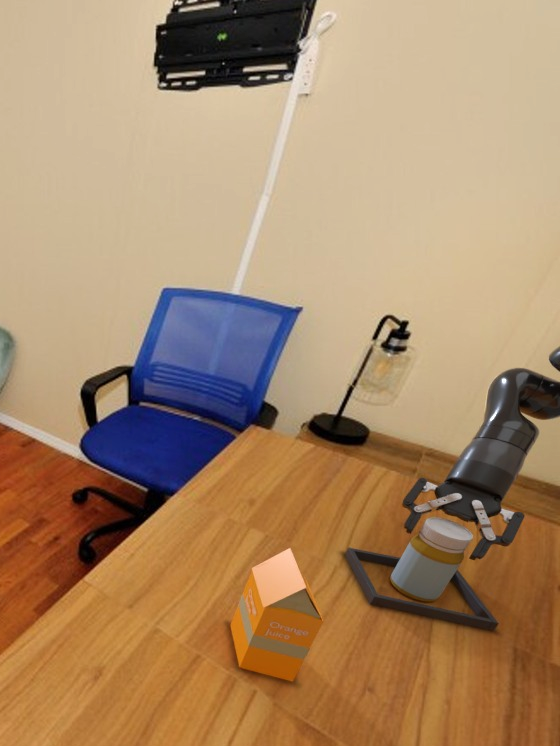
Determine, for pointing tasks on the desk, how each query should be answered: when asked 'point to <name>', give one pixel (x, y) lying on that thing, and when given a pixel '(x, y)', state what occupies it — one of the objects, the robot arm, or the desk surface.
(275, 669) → the orange juice
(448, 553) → the bottle
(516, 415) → the robot arm
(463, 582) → the dark rectangular frame
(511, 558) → the desk surface
